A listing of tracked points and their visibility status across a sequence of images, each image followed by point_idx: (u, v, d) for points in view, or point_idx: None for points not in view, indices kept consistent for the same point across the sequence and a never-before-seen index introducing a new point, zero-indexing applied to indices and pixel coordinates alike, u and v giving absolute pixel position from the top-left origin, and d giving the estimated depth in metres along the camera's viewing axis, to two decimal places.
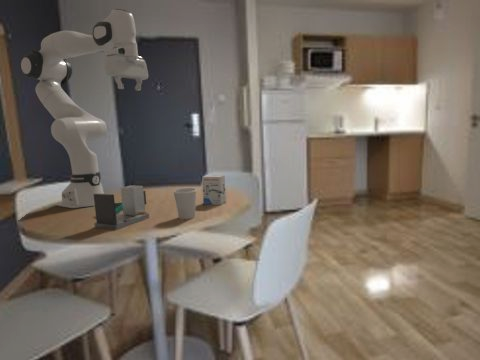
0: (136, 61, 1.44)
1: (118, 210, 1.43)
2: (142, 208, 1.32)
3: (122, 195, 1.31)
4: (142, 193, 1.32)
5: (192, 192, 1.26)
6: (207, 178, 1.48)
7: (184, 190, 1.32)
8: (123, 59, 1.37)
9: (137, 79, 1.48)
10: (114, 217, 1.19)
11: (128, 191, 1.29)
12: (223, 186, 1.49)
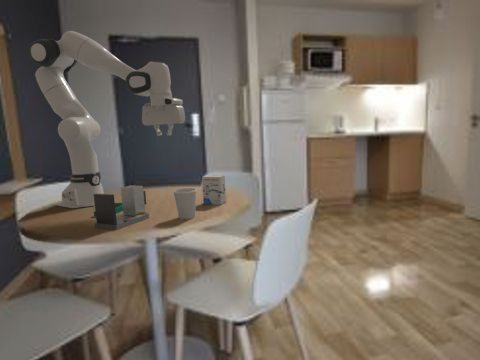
0: None
1: (116, 210, 1.43)
2: (142, 208, 1.32)
3: (122, 195, 1.31)
4: (142, 193, 1.32)
5: (192, 192, 1.26)
6: (207, 178, 1.48)
7: (184, 190, 1.32)
8: None
9: (157, 125, 1.53)
10: (114, 217, 1.19)
11: (128, 191, 1.29)
12: (223, 186, 1.49)
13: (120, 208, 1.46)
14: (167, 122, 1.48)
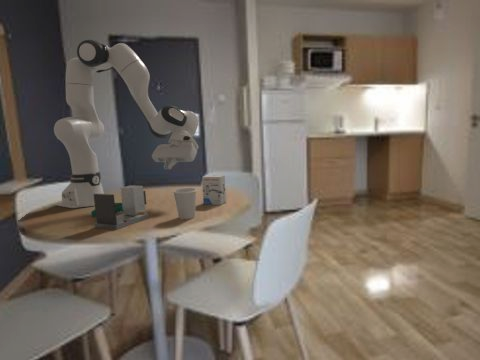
0: None
1: None
2: (142, 208, 1.32)
3: (122, 195, 1.31)
4: (142, 193, 1.32)
5: (192, 192, 1.26)
6: (207, 178, 1.48)
7: (184, 190, 1.32)
8: None
9: (168, 159, 1.52)
10: (114, 217, 1.19)
11: (128, 191, 1.29)
12: (223, 186, 1.49)
13: (119, 208, 1.45)
14: (176, 155, 1.49)
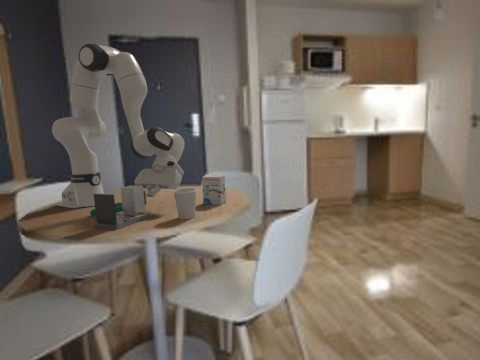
0: None
1: None
2: (142, 208, 1.32)
3: (122, 195, 1.31)
4: (142, 193, 1.32)
5: (192, 192, 1.26)
6: (207, 178, 1.48)
7: (184, 190, 1.32)
8: None
9: (151, 186, 1.43)
10: (114, 217, 1.19)
11: (128, 191, 1.29)
12: (223, 186, 1.49)
13: (119, 209, 1.45)
14: (159, 182, 1.40)
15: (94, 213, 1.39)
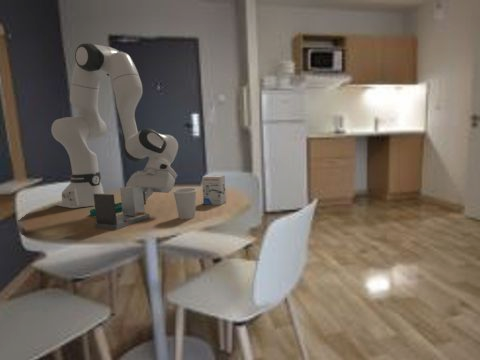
0: None
1: None
2: (142, 208, 1.32)
3: (121, 195, 1.30)
4: (142, 193, 1.32)
5: (192, 192, 1.26)
6: (207, 178, 1.48)
7: (184, 190, 1.32)
8: None
9: (143, 190, 1.39)
10: (114, 217, 1.19)
11: (127, 191, 1.29)
12: (223, 186, 1.49)
13: (118, 209, 1.44)
14: (151, 185, 1.36)
15: (92, 213, 1.40)
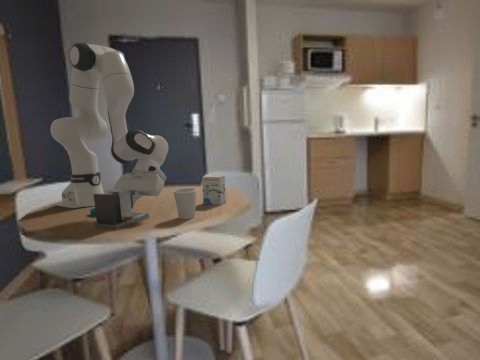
0: None
1: None
2: (129, 212, 1.26)
3: None
4: (129, 197, 1.26)
5: (192, 192, 1.26)
6: (207, 178, 1.48)
7: (184, 190, 1.32)
8: None
9: (131, 193, 1.33)
10: (114, 217, 1.19)
11: None
12: (223, 186, 1.49)
13: None
14: (139, 188, 1.30)
15: (91, 212, 1.41)
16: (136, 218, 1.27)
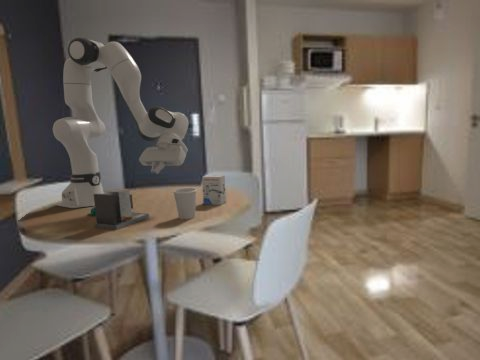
0: None
1: None
2: (128, 213, 1.26)
3: None
4: (128, 197, 1.26)
5: (192, 192, 1.26)
6: (207, 178, 1.48)
7: (184, 190, 1.32)
8: None
9: (156, 163, 1.45)
10: (114, 217, 1.19)
11: None
12: (223, 186, 1.49)
13: None
14: (164, 159, 1.42)
15: None
16: (136, 218, 1.27)
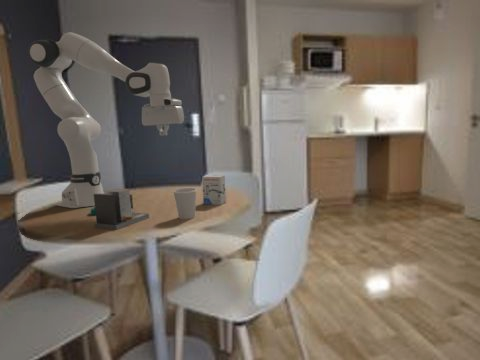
0: None
1: None
2: (128, 213, 1.26)
3: None
4: (128, 197, 1.26)
5: (192, 192, 1.26)
6: (207, 178, 1.48)
7: (184, 190, 1.32)
8: None
9: (160, 125, 1.54)
10: (114, 217, 1.19)
11: None
12: (223, 186, 1.49)
13: None
14: (166, 122, 1.51)
15: None
16: (136, 218, 1.27)
